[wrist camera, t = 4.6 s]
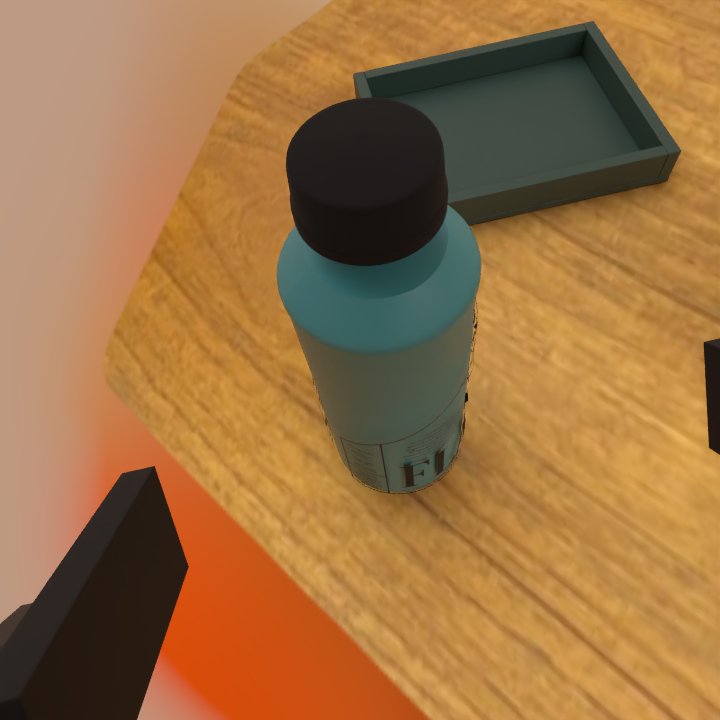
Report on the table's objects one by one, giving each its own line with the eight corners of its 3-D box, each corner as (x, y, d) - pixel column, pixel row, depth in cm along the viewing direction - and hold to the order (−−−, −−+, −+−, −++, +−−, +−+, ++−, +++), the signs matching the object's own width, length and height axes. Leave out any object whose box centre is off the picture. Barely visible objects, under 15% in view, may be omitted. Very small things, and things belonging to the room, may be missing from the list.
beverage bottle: (404, 533, 29) (375, 308, 12) (310, 448, 32) (173, 160, 14) (487, 439, 31) (567, 125, 14) (392, 366, 34) (358, 24, 16)
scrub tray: (399, 241, 38) (397, 214, 36) (356, 103, 45) (352, 73, 42) (667, 181, 38) (681, 150, 36) (585, 52, 45) (593, 20, 43)
